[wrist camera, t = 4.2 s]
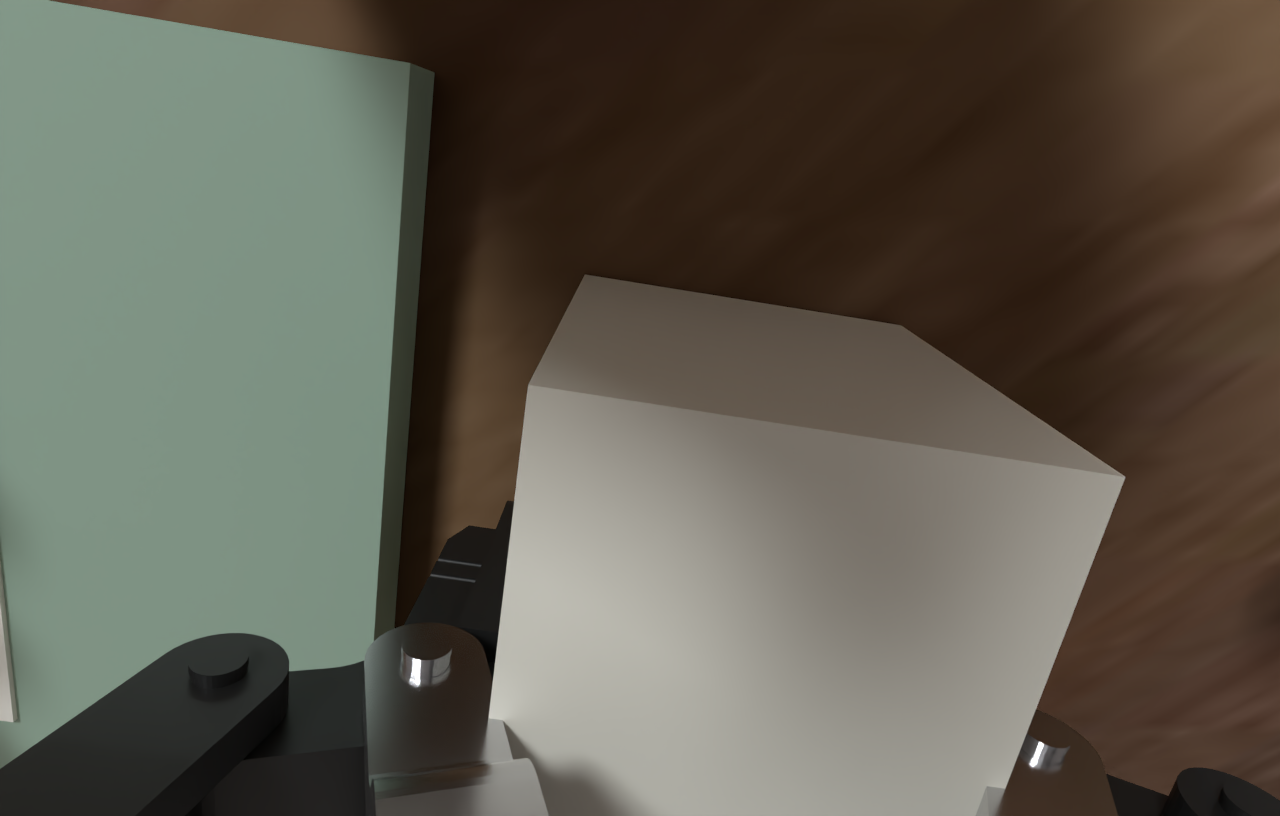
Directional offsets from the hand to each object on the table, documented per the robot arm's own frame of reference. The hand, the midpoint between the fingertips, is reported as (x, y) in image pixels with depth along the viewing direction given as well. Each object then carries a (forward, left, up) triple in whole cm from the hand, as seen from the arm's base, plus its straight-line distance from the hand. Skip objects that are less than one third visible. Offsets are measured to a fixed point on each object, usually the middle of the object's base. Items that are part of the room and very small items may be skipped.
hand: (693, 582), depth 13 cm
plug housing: (0, +2, -1) cm, 2 cm away
